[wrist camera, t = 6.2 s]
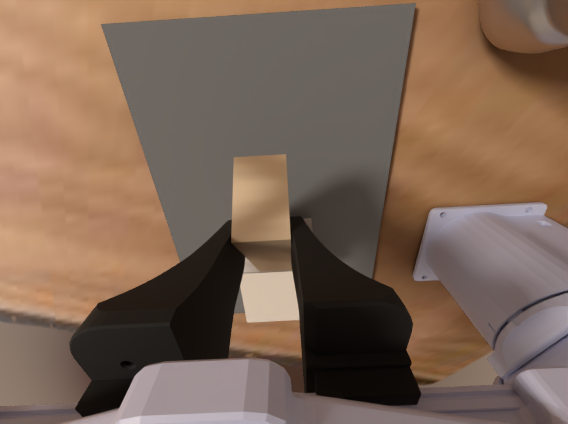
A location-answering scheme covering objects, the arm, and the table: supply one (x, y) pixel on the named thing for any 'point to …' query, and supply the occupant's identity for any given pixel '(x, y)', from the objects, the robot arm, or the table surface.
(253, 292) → the tile
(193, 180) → the mat
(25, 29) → the table surface
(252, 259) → the tan upright post
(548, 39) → the plastic bottle
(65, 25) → the table surface
